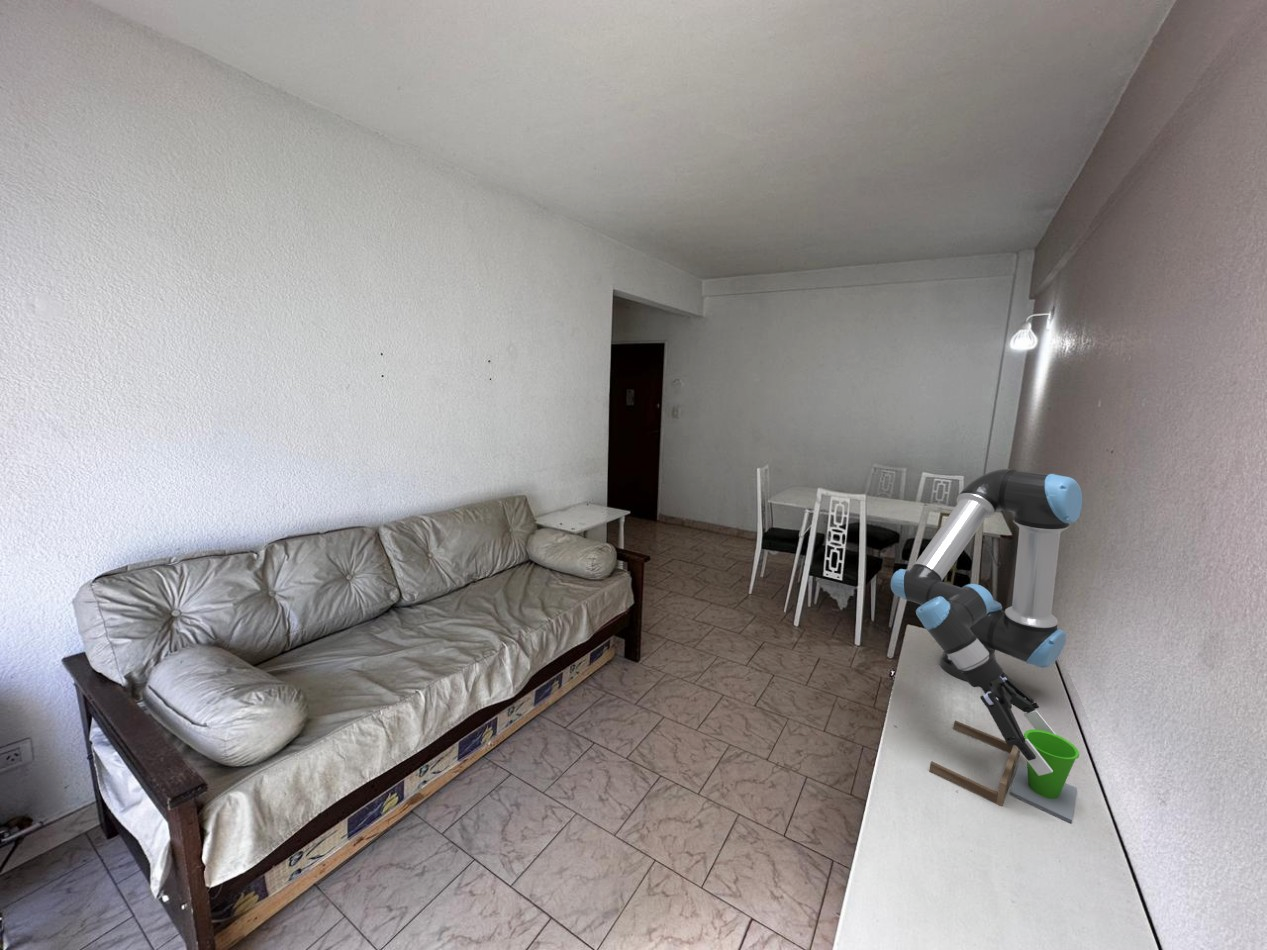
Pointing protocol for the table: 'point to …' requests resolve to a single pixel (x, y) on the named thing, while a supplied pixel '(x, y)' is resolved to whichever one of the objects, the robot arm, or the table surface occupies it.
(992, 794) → the stall
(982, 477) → the robot arm
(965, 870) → the table surface
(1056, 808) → the mat
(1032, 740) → the cup
